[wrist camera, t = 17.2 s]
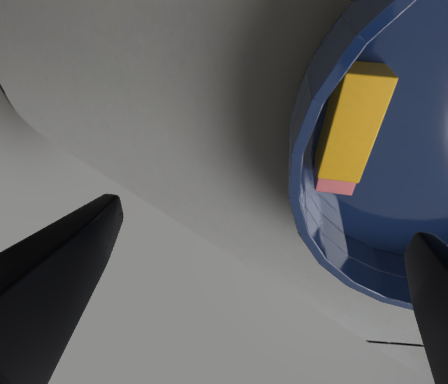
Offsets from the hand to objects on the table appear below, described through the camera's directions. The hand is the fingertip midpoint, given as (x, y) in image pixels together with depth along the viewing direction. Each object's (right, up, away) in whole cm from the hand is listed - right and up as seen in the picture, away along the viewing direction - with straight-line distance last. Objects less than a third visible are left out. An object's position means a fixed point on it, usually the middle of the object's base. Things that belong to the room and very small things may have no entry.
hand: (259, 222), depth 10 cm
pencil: (+6, +5, +9) cm, 12 cm away
